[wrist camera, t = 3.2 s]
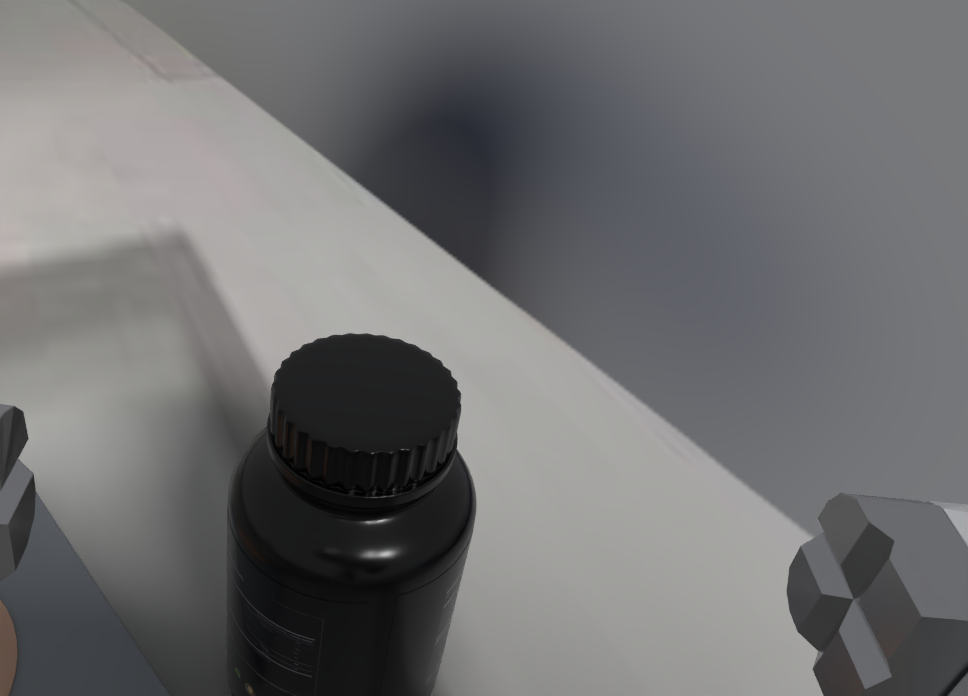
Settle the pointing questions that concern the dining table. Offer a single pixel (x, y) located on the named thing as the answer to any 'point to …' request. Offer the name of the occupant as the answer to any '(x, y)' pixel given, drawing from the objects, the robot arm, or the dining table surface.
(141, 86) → the dining table surface
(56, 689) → the mat
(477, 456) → the dining table surface
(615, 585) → the dining table surface
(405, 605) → the supplement bottle
